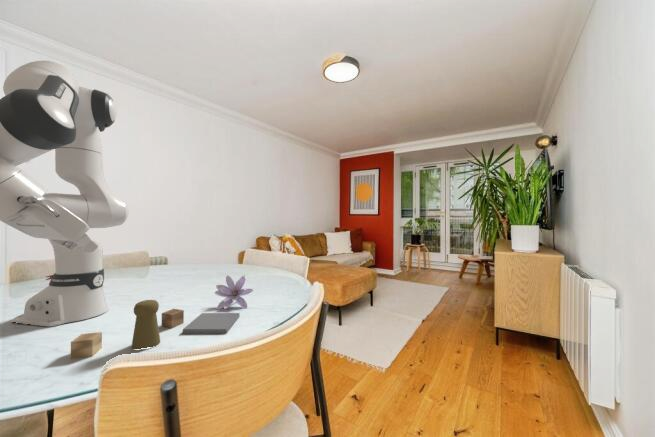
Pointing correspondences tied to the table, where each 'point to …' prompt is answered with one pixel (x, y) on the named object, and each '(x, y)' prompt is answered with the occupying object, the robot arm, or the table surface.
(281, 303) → the table surface
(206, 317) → the coaster
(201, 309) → the table surface
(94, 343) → the oak block
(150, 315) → the cork
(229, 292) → the water lily
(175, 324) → the walnut block
